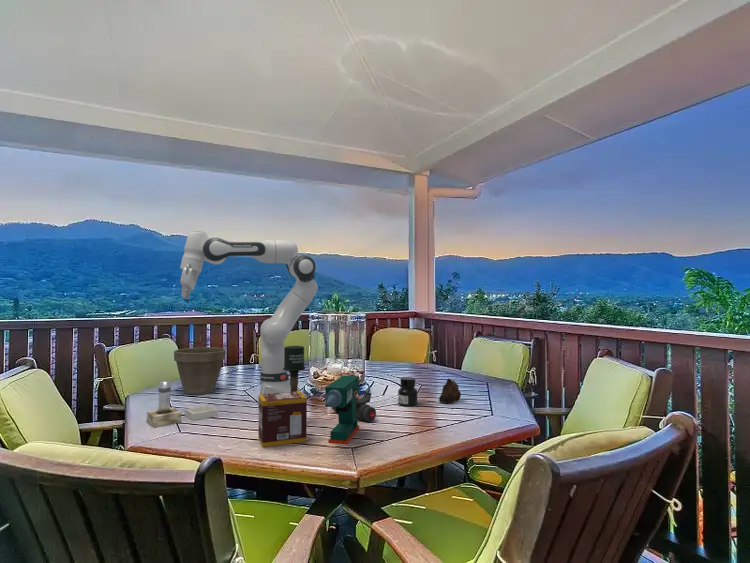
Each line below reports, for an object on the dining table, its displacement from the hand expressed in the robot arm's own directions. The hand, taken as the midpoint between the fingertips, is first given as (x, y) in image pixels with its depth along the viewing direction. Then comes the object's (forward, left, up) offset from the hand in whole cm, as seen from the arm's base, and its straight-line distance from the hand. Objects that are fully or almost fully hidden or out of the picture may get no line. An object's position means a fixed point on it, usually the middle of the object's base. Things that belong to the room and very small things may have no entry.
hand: (184, 297), depth 192 cm
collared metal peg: (-4, +15, -49) cm, 52 cm away
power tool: (-79, +14, -49) cm, 94 cm away
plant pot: (+18, -33, -49) cm, 62 cm away
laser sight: (-73, -16, -50) cm, 90 cm away
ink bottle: (-90, -42, -49) cm, 111 cm away
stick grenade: (-53, -1, -49) cm, 73 cm away
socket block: (-4, +15, -49) cm, 52 cm away
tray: (-12, +3, -49) cm, 51 cm away
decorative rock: (-108, -53, -50) cm, 130 cm away
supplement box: (-59, +19, -50) cm, 79 cm away
